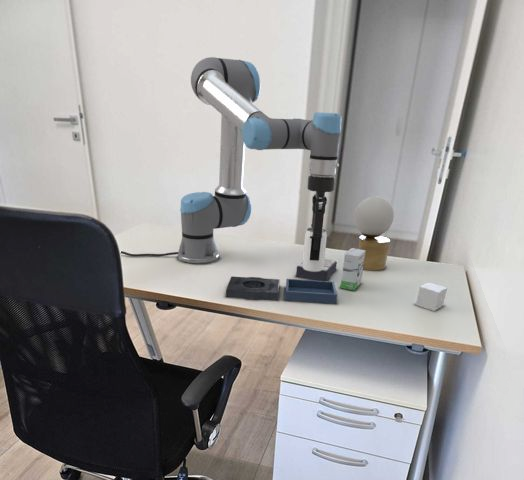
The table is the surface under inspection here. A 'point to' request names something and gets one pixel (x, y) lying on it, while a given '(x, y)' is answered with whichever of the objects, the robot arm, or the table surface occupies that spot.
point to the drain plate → (260, 290)
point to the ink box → (352, 268)
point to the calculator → (322, 275)
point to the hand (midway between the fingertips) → (313, 256)
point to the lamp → (374, 230)
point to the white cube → (431, 296)
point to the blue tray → (310, 291)
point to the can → (307, 263)
